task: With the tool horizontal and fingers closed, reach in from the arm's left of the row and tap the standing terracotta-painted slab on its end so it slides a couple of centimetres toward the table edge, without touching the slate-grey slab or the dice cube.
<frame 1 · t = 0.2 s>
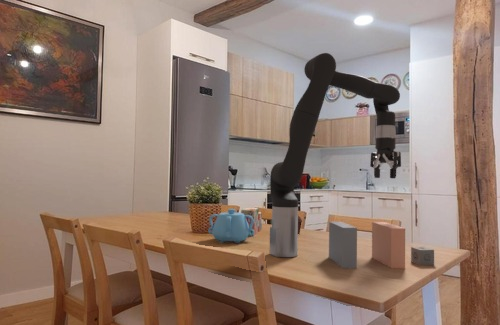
hand: (384, 178, 146), 28 cm above the table, tool pointing down, fingers open, 8 cm apart
stack of blocks: (251, 233, 180), on the table
terracotta slab: (387, 262, 122), on the table
muffin: (290, 234, 178), on the table
decorative pot: (230, 241, 157), on the table
slate slab: (341, 262, 121), on the table
dice cube: (422, 264, 122), on the table
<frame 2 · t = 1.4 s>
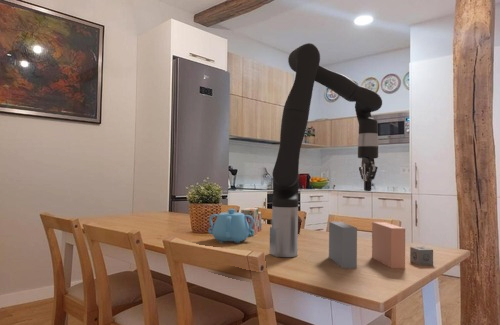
hand: (367, 190, 140), 23 cm above the table, tool pointing down, fingers closed
nothing on the table moved.
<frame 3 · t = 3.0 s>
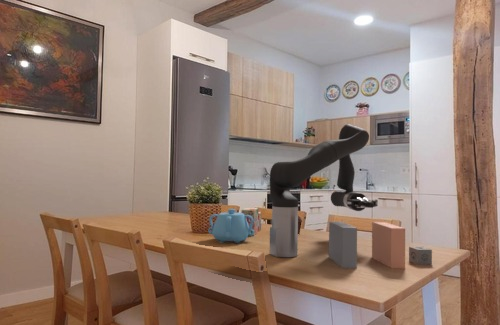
hand: (371, 204, 137), 18 cm above the table, tool horizontal, fingers closed
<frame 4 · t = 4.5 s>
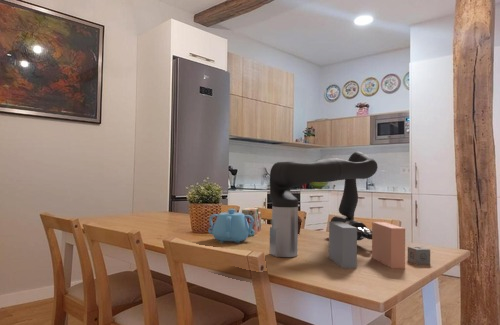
hand: (371, 236, 136), 6 cm above the table, tool horizontal, fingers closed
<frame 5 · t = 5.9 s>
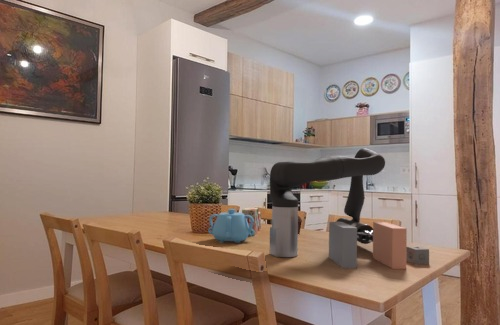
hand: (380, 240, 129), 6 cm above the table, tool horizontal, fingers closed
terracotta slab: (388, 262, 121), on the table, touching gripper
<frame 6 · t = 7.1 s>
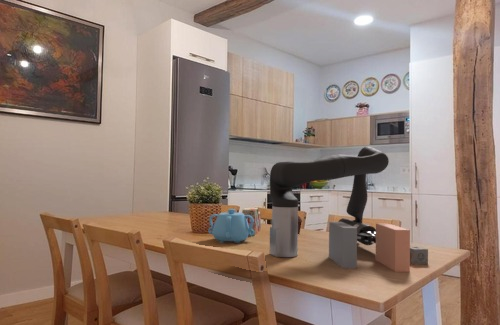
hand: (383, 241, 126), 6 cm above the table, tool horizontal, fingers closed
terracotta slab: (391, 265, 118), on the table, touching gripper
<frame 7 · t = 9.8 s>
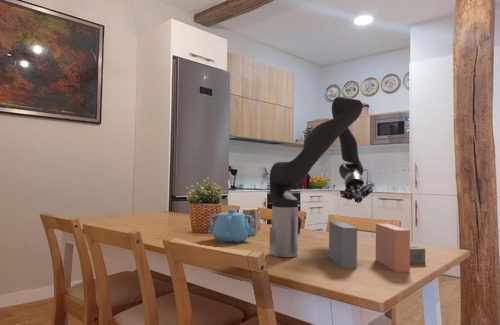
hand: (358, 200, 136), 20 cm above the table, tool tilted 70°, fingers closed
terracotta slab: (391, 265, 118), on the table
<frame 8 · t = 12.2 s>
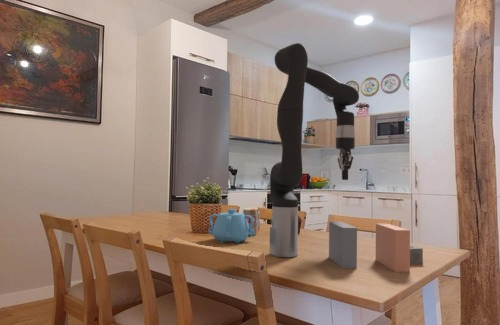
hand: (344, 179, 149), 27 cm above the table, tool pointing down, fingers closed
at the end: terracotta slab moved 4.1 cm from its start; terracotta slab tilted 0°; slate slab moved 0.1 cm from its start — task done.
